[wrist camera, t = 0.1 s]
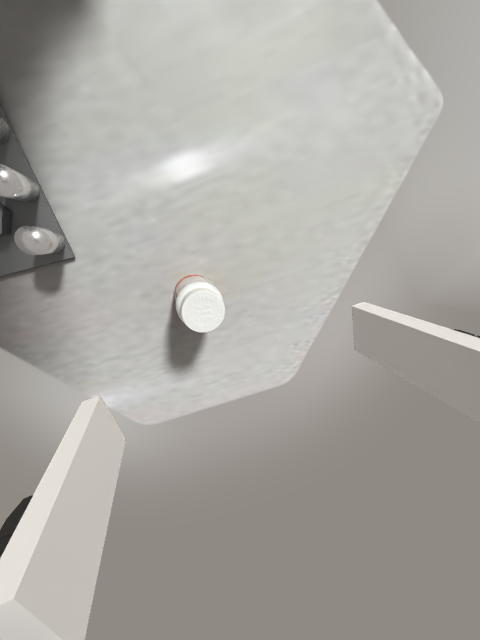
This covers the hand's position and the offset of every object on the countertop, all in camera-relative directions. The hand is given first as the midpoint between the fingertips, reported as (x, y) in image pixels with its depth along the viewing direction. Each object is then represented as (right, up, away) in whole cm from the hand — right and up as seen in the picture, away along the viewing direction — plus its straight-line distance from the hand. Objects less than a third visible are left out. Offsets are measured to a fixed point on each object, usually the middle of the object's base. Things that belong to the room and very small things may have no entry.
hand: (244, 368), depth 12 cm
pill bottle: (-8, +7, +26) cm, 28 cm away
